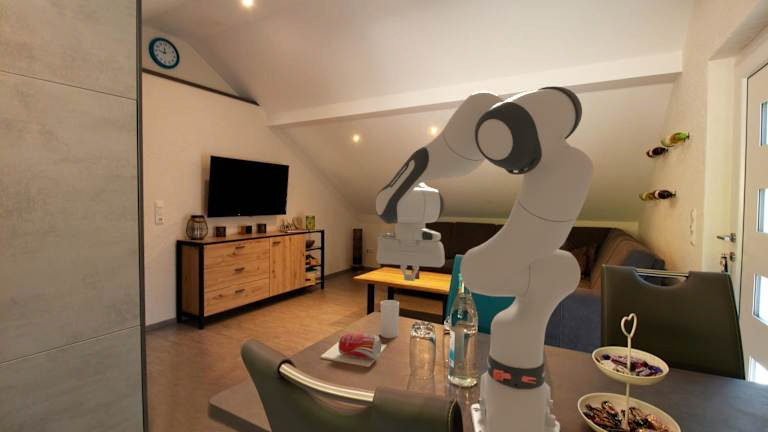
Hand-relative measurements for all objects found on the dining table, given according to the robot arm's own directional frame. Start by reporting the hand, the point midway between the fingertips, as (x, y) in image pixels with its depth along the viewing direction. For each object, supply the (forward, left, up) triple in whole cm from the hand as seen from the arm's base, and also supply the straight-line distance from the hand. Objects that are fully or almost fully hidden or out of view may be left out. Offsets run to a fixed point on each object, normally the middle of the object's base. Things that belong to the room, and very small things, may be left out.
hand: (409, 280), depth 105 cm
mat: (+3, +18, -25) cm, 31 cm away
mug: (+23, +13, -26) cm, 36 cm away
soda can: (-1, +9, -21) cm, 23 cm away
